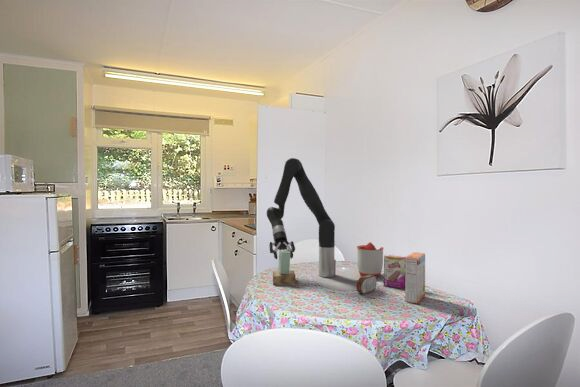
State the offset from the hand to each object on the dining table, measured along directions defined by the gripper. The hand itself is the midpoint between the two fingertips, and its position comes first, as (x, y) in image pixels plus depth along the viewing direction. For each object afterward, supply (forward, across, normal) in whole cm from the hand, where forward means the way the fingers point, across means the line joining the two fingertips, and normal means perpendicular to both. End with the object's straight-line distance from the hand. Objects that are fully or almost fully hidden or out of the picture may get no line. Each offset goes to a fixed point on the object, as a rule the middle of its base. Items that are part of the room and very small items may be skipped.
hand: (284, 258), depth 185 cm
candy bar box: (+26, +55, -6) cm, 61 cm away
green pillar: (+6, 0, +6) cm, 8 cm away
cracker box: (+40, +53, -21) cm, 69 cm away
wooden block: (+9, 0, +10) cm, 14 cm away
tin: (+29, +36, -10) cm, 47 cm away
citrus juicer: (+9, +54, +10) cm, 56 cm away
